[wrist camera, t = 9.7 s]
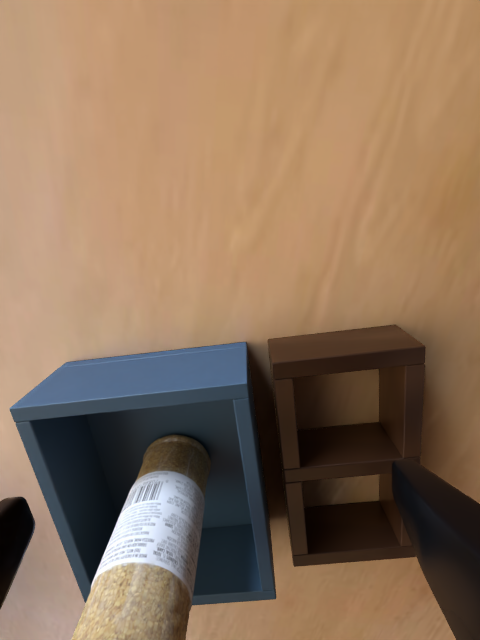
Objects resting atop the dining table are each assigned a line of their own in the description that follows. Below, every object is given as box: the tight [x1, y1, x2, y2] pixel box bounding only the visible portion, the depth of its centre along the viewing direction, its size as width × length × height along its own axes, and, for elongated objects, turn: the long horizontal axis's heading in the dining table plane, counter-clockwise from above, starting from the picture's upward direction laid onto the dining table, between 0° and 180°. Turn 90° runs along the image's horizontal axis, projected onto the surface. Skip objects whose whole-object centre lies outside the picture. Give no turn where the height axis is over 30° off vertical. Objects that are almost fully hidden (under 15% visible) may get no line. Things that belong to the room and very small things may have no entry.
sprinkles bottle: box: [72, 435, 211, 640], centre depth 16 cm, size 5×5×14 cm
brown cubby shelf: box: [268, 325, 426, 567], centre depth 21 cm, size 15×8×4 cm, turn 7°
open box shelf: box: [10, 342, 276, 605], centre depth 20 cm, size 15×12×5 cm
